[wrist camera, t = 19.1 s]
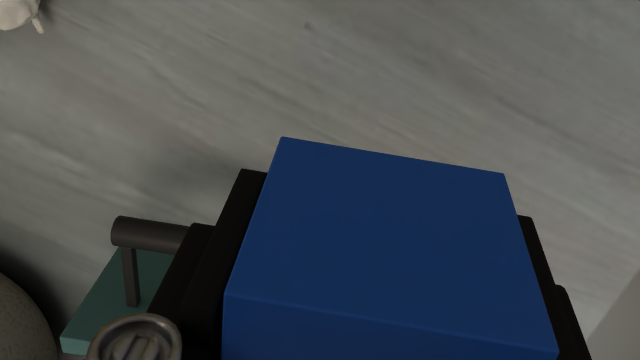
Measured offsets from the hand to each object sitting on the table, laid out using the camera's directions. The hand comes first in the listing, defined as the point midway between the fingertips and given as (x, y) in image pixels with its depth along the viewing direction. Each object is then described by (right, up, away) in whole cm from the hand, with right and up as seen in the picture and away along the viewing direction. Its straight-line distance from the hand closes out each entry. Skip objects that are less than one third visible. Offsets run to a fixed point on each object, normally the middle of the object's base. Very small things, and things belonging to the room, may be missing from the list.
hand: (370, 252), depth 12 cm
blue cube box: (0, 0, 0) cm, 0 cm away
